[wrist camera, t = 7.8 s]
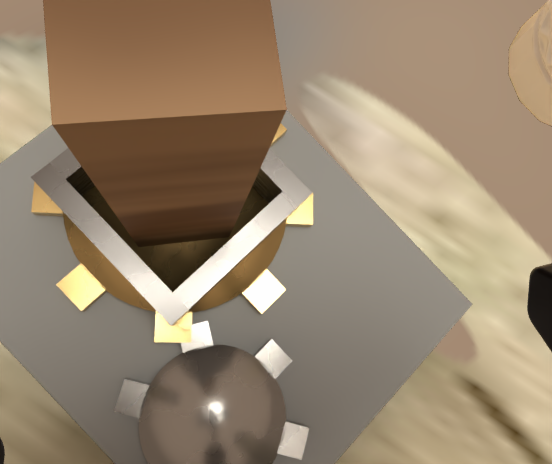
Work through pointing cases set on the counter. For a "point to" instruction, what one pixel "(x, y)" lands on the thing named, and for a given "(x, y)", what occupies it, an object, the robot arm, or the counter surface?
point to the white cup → (534, 64)
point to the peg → (166, 107)
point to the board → (234, 309)
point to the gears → (190, 314)
